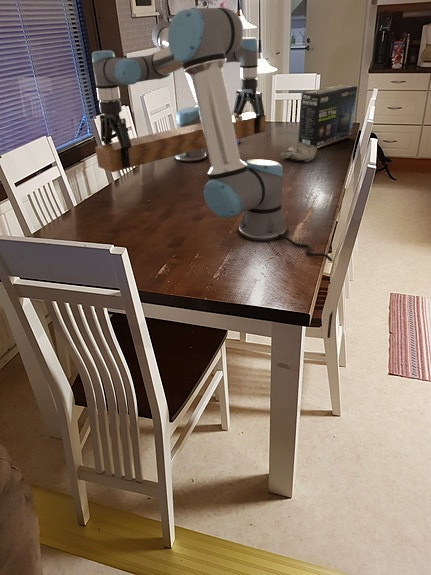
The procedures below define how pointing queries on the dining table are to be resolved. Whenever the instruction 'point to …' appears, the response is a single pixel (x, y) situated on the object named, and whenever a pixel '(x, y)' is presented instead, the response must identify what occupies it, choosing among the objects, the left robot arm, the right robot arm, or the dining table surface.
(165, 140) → the wooden beam
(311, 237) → the dining table surface
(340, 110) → the router box
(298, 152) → the fossil
